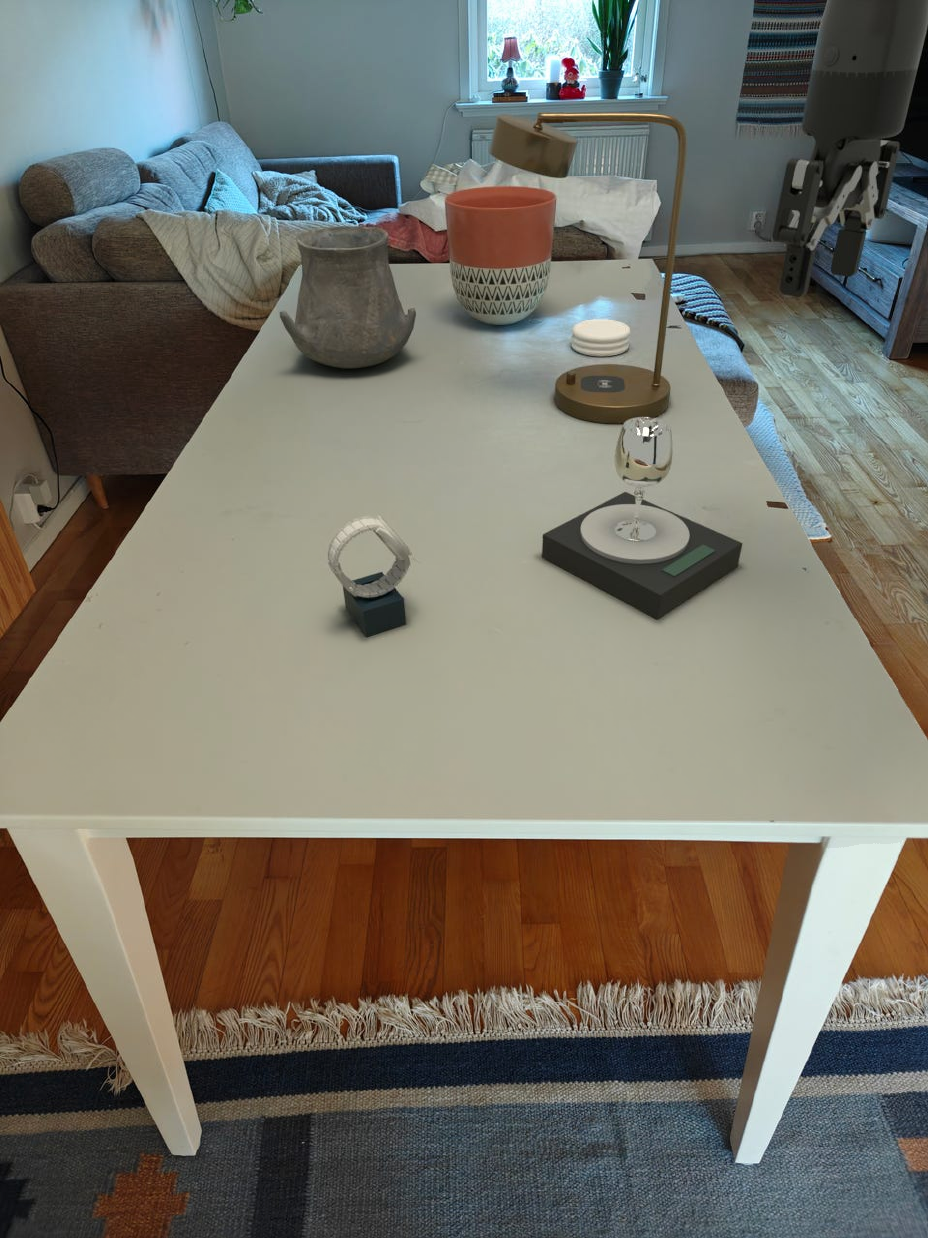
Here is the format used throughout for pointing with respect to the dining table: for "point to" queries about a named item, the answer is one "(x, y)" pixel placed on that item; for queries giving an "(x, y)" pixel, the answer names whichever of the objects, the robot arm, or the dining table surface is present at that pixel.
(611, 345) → the white round stack
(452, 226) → the planter
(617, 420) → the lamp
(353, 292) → the vessel
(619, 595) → the scale
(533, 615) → the dining table surface
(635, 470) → the wineglass
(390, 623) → the watch
